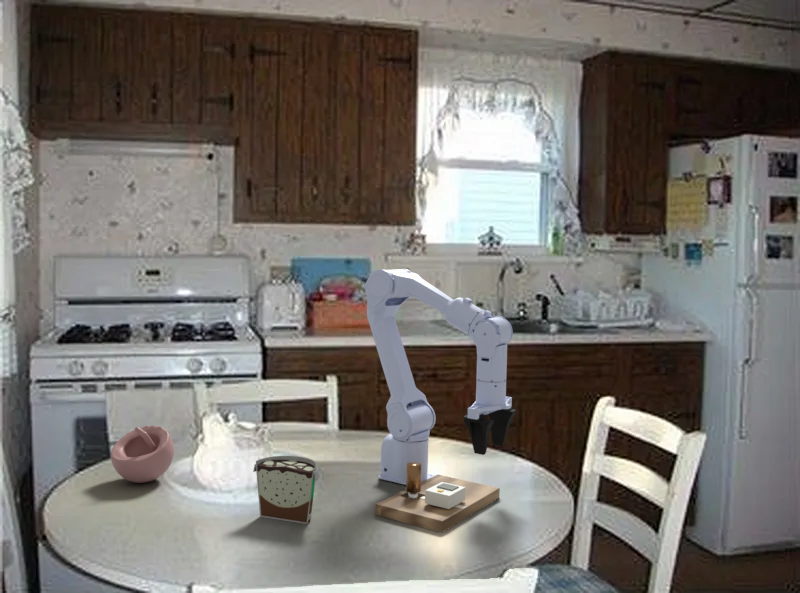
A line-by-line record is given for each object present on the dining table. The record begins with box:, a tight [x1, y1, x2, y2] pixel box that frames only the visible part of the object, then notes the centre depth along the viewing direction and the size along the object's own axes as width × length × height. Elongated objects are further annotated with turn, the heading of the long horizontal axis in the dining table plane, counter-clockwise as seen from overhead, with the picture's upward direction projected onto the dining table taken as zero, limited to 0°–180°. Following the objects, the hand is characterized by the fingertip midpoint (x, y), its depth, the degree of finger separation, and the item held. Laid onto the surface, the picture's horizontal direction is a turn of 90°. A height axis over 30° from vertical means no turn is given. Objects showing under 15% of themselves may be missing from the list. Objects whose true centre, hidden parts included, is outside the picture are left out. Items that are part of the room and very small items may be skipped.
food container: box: [253, 455, 320, 525], centre depth 138 cm, size 12×6×10 cm, turn 71°
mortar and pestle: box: [110, 425, 175, 484], centre depth 154 cm, size 12×12×12 cm
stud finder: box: [425, 482, 466, 509], centre depth 140 cm, size 5×6×3 cm
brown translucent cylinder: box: [405, 462, 422, 500], centre depth 144 cm, size 3×3×8 cm
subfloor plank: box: [374, 474, 500, 533], centre depth 144 cm, size 14×22×2 cm, turn 147°
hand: (489, 449), depth 149 cm, fingers open, 7 cm apart
